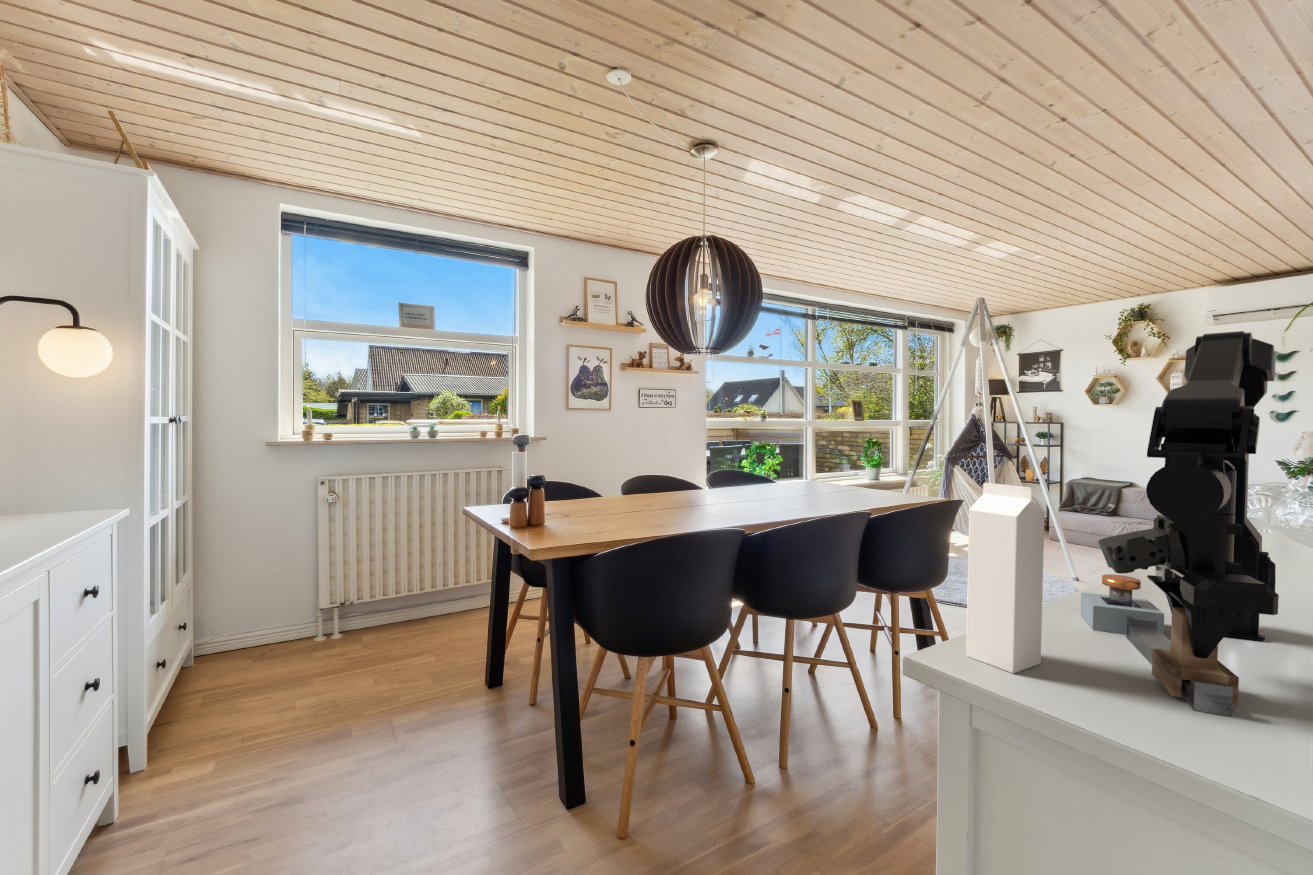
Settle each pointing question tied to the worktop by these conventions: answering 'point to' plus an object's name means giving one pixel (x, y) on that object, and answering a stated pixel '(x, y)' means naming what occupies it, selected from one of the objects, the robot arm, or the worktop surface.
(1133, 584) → the button
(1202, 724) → the worktop surface
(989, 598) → the milk
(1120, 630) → the box
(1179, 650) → the carriage
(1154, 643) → the rail
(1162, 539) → the robot arm
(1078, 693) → the worktop surface
